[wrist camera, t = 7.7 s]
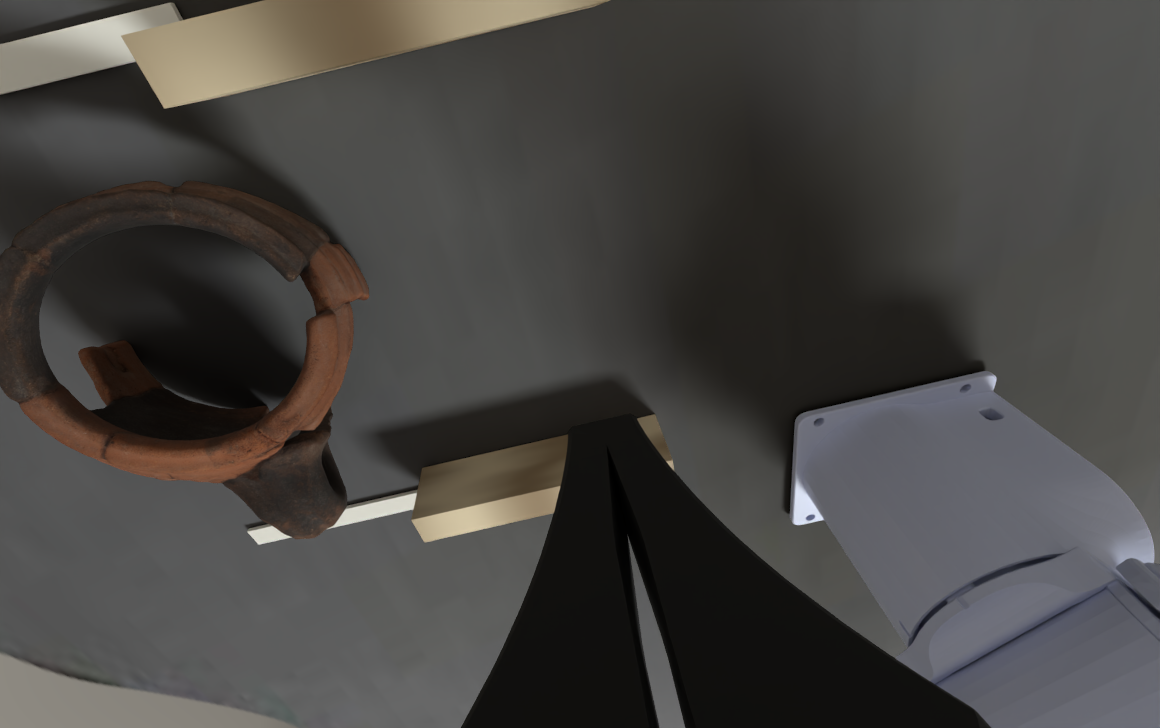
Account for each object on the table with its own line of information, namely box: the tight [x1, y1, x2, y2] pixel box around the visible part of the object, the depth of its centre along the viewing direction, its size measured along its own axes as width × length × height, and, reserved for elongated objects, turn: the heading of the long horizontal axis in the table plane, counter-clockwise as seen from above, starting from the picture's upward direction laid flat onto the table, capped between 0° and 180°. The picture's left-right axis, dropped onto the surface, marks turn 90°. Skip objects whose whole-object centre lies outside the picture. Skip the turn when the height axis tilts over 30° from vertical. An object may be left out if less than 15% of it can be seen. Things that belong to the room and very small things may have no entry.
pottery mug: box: [0, 181, 369, 539], centre depth 17 cm, size 12×10×8 cm
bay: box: [0, 3, 417, 545], centre depth 19 cm, size 9×20×1 cm, turn 11°
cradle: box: [121, 0, 674, 542], centre depth 18 cm, size 11×18×3 cm, turn 11°
